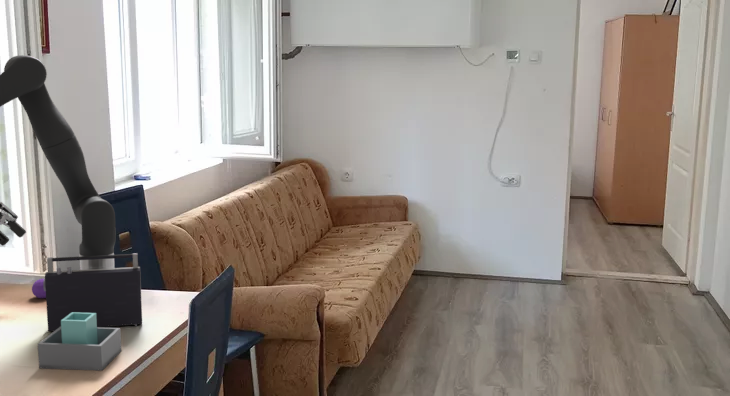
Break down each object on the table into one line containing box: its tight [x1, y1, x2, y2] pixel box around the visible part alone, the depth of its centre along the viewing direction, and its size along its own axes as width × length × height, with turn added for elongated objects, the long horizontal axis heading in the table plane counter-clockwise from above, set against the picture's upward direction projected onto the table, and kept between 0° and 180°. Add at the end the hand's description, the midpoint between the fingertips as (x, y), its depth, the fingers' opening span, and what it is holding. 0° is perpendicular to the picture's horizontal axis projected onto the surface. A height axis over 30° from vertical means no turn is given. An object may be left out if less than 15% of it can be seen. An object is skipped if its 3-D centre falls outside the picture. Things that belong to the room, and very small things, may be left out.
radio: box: [43, 252, 143, 332], centre depth 198 cm, size 24×5×20 cm, turn 106°
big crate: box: [37, 326, 122, 371], centre depth 177 cm, size 15×12×6 cm
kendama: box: [31, 278, 46, 299], centre depth 225 cm, size 6×6×20 cm
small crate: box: [61, 312, 98, 345], centre depth 176 cm, size 6×6×10 cm
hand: (15, 238), depth 183 cm, fingers open, 8 cm apart
